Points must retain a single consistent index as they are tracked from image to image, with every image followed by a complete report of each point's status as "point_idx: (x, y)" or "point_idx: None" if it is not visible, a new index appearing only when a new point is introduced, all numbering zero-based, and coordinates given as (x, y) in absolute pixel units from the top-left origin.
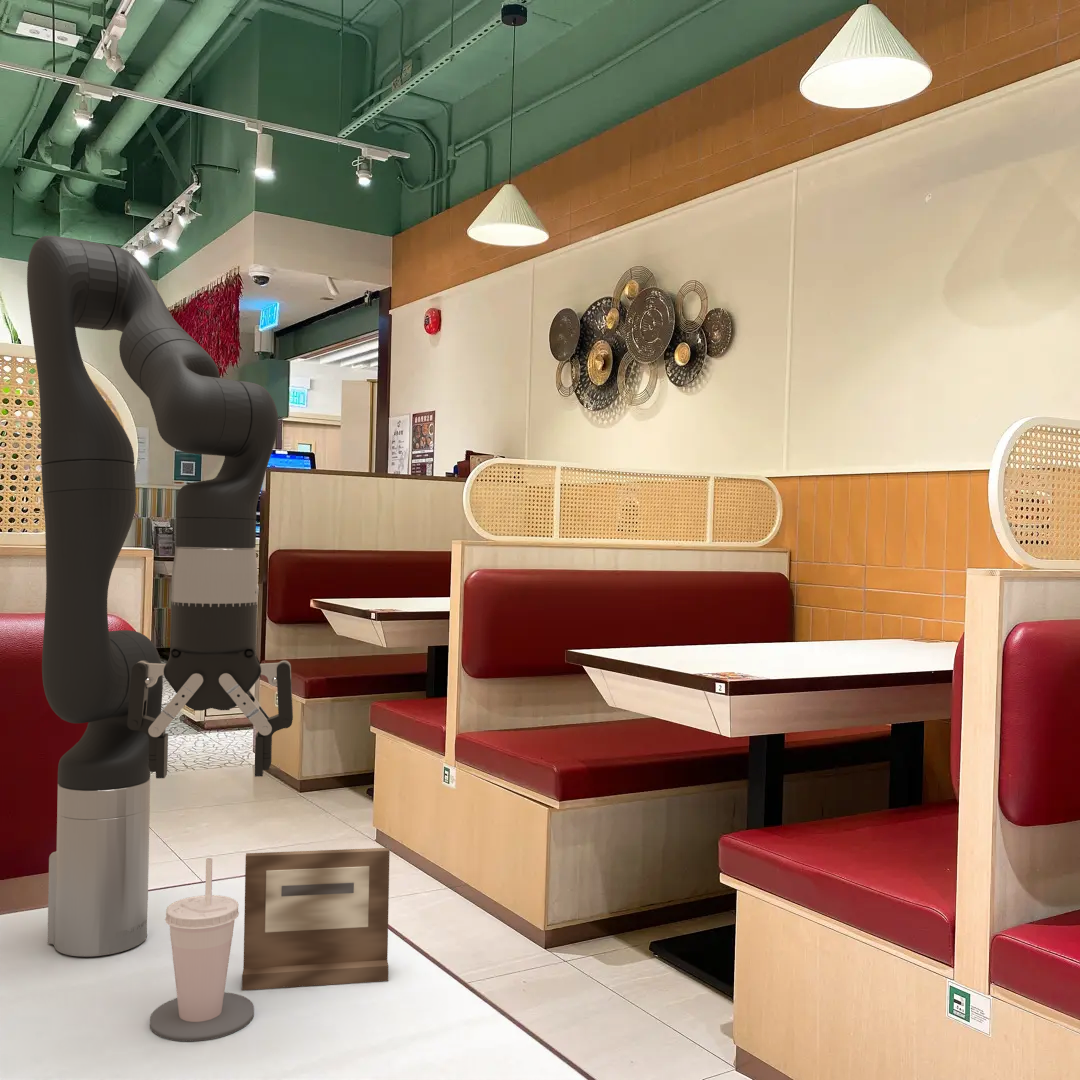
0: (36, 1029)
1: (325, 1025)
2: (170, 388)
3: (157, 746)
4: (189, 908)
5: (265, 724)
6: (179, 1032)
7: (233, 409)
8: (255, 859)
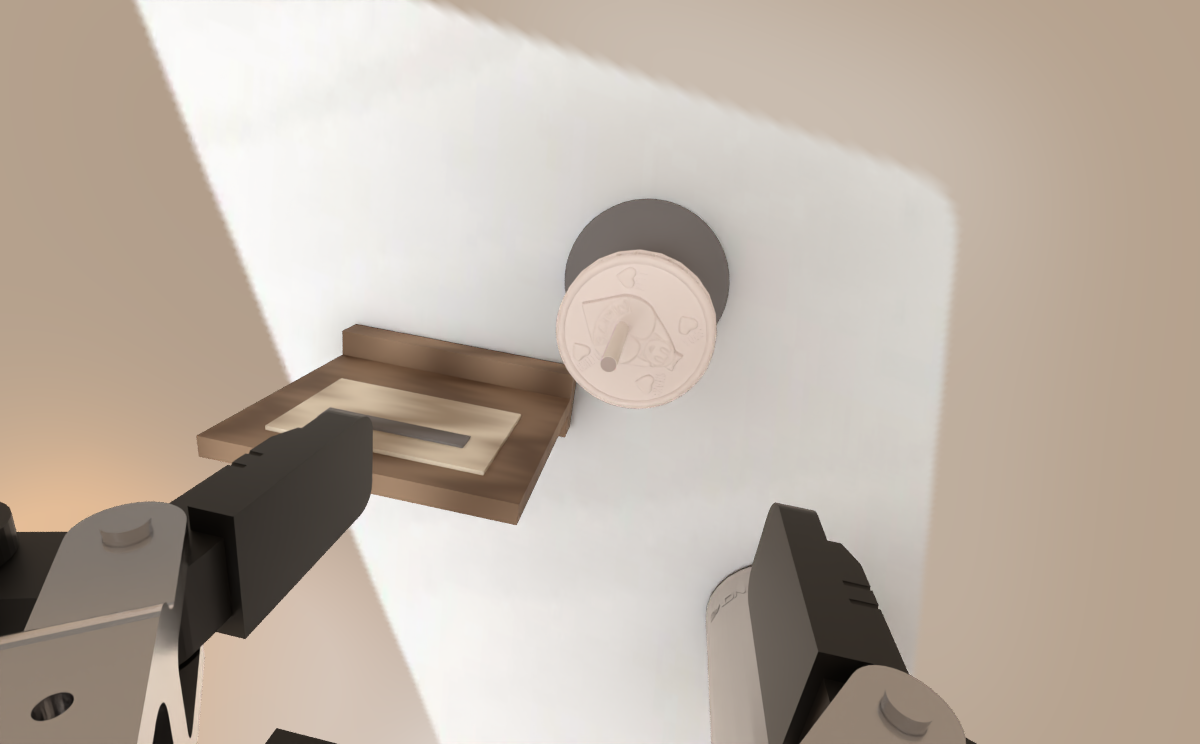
0: (902, 331)
1: (461, 192)
2: None
3: (850, 614)
4: (664, 328)
5: (93, 548)
6: (687, 221)
7: None
8: (499, 495)
